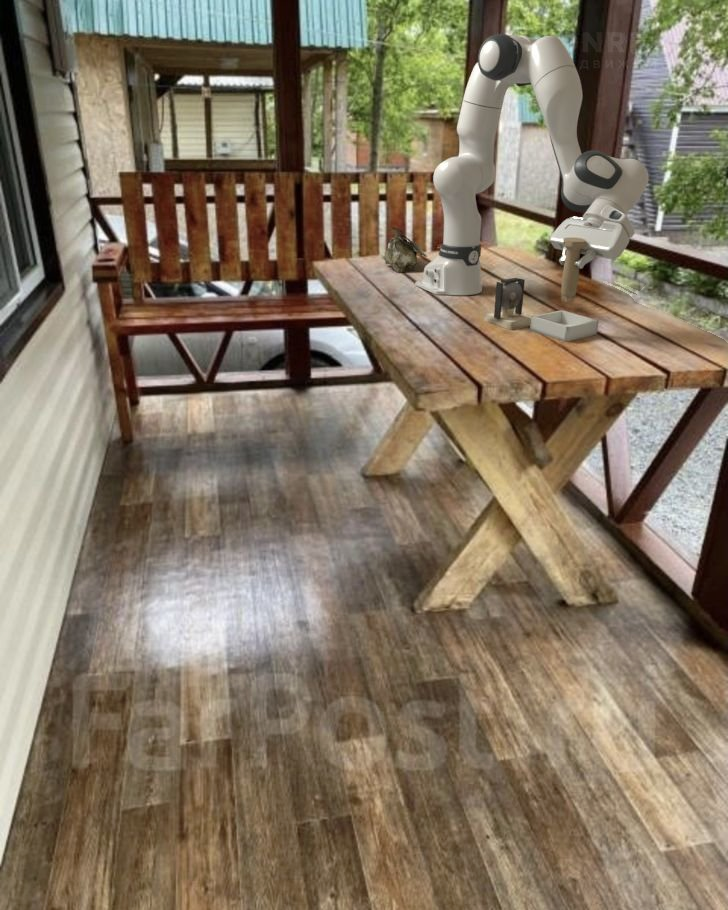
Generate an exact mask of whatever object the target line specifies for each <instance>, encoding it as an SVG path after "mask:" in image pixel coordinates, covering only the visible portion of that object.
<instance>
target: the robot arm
mask: <svg viewBox="0 0 728 910" xmlns="http://www.w3.org/2000/svg"><path fill="white" fill-rule="evenodd" d="M579 75H580V74H579V73H578V69H577V67H576V65H575V63H574V61H573V58H572V57H571V55H570V53H569V51H568V49H567V48H566V46H565V44H564V43H563V42H562V41H561V39H560V38H559V37H558V36H555V35H545V36H542V37H540V38H537V39H536V38H532V37H529V36H525V35H515V34H513V35H512V34H506V33H497V34H493V35H492V34H491V35H490V36H488V37H487V38H485V40H484V41H483V42H482V43H481V45H480V48H479V51H478V55H477V62H476V63H475V65H474V66H473V68H472V71H471V74H470V76H469V78H468V81H467V84H466V87H465V91H464V95H463V98H462V102H461V103H462V104H461V107H460V112H459V116H458V121H457V125H456V133H457V136H458V140H459V143H458V144H459V147H458V148H459V152H458V155H457V156H452V157H451V156H450V157H449V158H447V159H445V160H444V161H441V162H440V163H439V164H438V165H437V167H435V169H434V173H433V176H432V178H433V179H432V182H433V185H434V187H435V190H436V191H437V193H438V194H439V197H440V201H441V205H442V212H443V239H442V240H443V241H442V243H440V244H437V248H436V249H438V250H439V252H438V255H437V256H436V257H435V258H433V259H432V260H431V261H430V262H429V263H427V264H426V265H425V266H424V269H423V276H422V279H420V280H417V281H415V282H414V283H415V284H414V285H415V286H416V287H418V288H421V289H423V290H425V291H427V292H429V293H432V294H433V295H448V296H449V295H450V296H469V295H470V296H472V295H477V294H481V293H482V292H483V288H484V286H483V283H482V271H481V269H482V268H481V267H482V266H481V261H480V257H481V256H482V255H481V254H482V245H481V232H482V231H481V230H482V216H481V214H480V213H479V210H478V205H477V200H476V199H477V198H476V195H477V194H480V193H482V192H484V191H485V190H487V189H488V188H489V187H491V186H492V184H493V183H494V181H495V179H496V175H497V174H496V173H497V172H496V171H497V170H496V166H495V164H494V154H495V153H494V152H495V150H494V148H495V139H496V134H497V130H498V125H499V121H500V117H501V113H502V108H503V105H504V100H505V97H506V94H507V91H508V89H509V88H510V87H511V86H512V85H516V86H517V87H522V86H529V85H531V87H532V90H533V93H534V96H535V99H536V101H537V103H538V104H537V105H538V106H539V108H540V112H541V114H542V117H543V119H544V122H545V123H544V124H545V126H546V130H547V132H548V135H549V139H550V143H551V147H552V150H553V154H554V157H555V161H556V164H557V167H558V170H559V175H560V177H561V189H560V196H561V200H562V203H563V204H564V206H565V207H566V208H567V209H569V210H570V211H573V212H576V213H584V214H583V215H582V216H577V215H573V216H571V217H569V218H566V219H565V220H563V221H562V222H561V224H559V225H558V226H557V228H556V229H555V230H554V231H553V232H552V233H551V235H550V237H549V242H550V243H551V245H552V246H553V248H554V249H555V250H561V251H562V255H561V257H559V259H558V262H559V264H560V265H562V266H564V264H565V257H566V250H567V249H566V247H564V245H563V241H564V238H570V237H574V238H582V239H585V240H586V243H585V246H584V247H583V248H581V250H580V255H581V254H582V255H583V256H581V258H578V259H577V261H576V262H575V266H576V268H579V270H580V269H583V268H584V266H585V265H586V264H588V263H590V262H591V261H593V260H594V259H595V258H596V257H597V258H603V259H609V260H613V261H615V260H617V258H619V257H621V256H622V254H623V252H624V251H625V250H626V249H627V246H629V243H630V239H631V238H632V237H633V236H634V235H635V229H634V227H633V224H632V223H631V220H630V219H629V217H628V216H627V214H628V213H629V211H631V210H632V209H633V208H634V207H635V206H636V204H637V203H638V201H639V200H640V198H641V197H642V195H643V193H644V192H645V190H646V188H647V186H648V183H649V173H648V170H647V168H646V167H645V164H643V163H642V162H641V161H639V160H638V159H636V158H617V157H614V156H613V157H612V156H610V155H607V154H606V153H605V152H602V151H601V150H596V149H594V150H593V149H591V150H587V151H585V152H582V150H581V147H580V145H579V141H578V133H577V132H578V130H577V129H578V121H579V115H580V111H581V107H582V103H583V89H582V88H583V87H582V83H581V79H580V76H579Z"/></svg>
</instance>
